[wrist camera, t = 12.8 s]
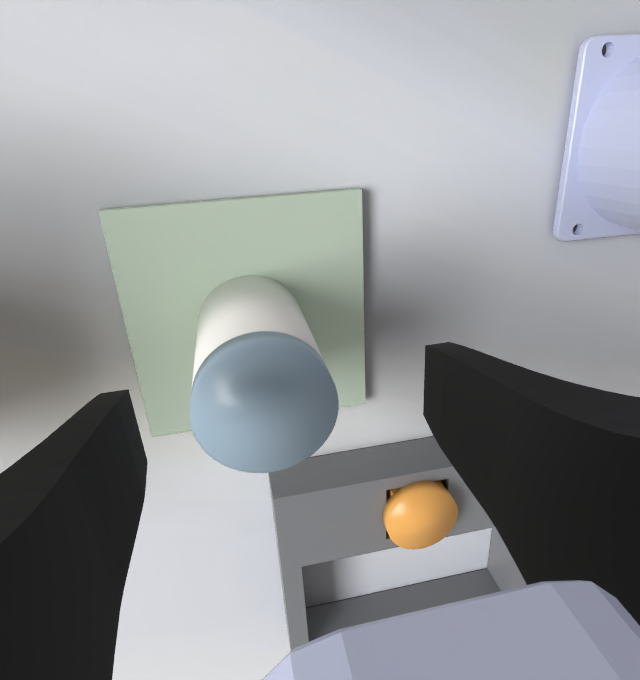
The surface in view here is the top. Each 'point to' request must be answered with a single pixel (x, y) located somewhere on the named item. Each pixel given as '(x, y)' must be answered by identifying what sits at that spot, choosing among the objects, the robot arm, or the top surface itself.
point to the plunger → (419, 514)
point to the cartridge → (259, 379)
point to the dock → (370, 532)
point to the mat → (230, 262)
